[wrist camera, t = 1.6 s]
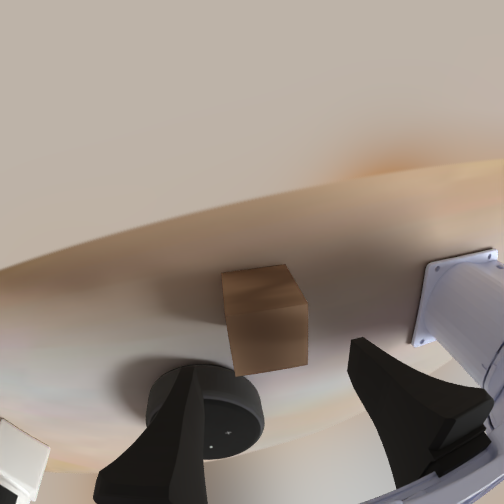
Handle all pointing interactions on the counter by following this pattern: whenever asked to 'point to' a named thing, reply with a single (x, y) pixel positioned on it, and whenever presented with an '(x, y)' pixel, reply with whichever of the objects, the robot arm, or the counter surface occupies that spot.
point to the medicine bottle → (20, 465)
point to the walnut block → (265, 320)
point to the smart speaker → (219, 409)
